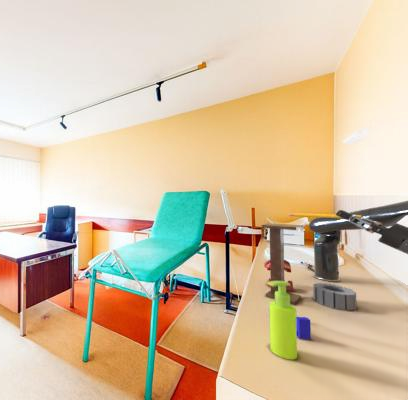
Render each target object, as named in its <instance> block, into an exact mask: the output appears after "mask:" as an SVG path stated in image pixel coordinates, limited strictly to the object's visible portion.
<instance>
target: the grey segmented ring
mask: <svg viewBox="0 0 408 400" xmlns="http://www.w3.org/2000/svg"><path fill="white" fill-rule="evenodd" d="M312 292H313V293H312V294H313V295H312V297H313V300H314V301H315V302H316V303H318V304H320V305H322V306H323V305H324V306H325V307H328V308H331V309H336V310H341V311H355V310H356V309H357V292H356V291H354V290H353V289H351V288H348V287H345V286H342V285H337V284H332V283H326V282H324V283H323V282H315V283H313V285H312Z"/></svg>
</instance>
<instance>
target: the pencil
mask: <svg viewBox="0 0 408 400" xmlns="http://www.w3.org/2000/svg"><path fill="white" fill-rule="evenodd" d="M288 216H289V217H303V218H318V217H323V218H342V217H339V216H337V215H336V213H309V212H305V213H304V212H289V213H288ZM352 216H353V215H352ZM356 216H357V217H360V218H361V215H356Z"/></svg>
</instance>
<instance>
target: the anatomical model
mask: <svg viewBox="0 0 408 400" xmlns="http://www.w3.org/2000/svg"><path fill="white" fill-rule="evenodd" d="M263 264H264V268H265V269H266V271H269V272H270V259H268V260H266V261H265V262H264V263H263ZM284 272H287V273H290V274H291V273H292V267H291V263H290V262H289V261H288V260H286V259H284ZM267 282H271V277H270V278H268V280H267V281H266V286H267V287H269V288H270V289H271V286H270V285H268V284H267ZM286 282H287V283H289V285H286V292H290V293H293V291H294V282H293V281H292V280H287V281H286Z"/></svg>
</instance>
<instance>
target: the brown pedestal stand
mask: <svg viewBox="0 0 408 400" xmlns="http://www.w3.org/2000/svg"><path fill="white" fill-rule="evenodd" d="M262 228H263V229H269V260H270V271H269V272H270V279H271V281H285V270H284V260H285V243H284V242H285V241H284V236H285V235H284V230H286V231H287V230H288V231H298V230H302V229H304V225H302V224H289V223H288V224H287V223H273V222H272V223H271V222H269V223H265V224H261V229H262ZM276 291H278V286H274V287H273V286H271V288H270V290H269V291H267V292H266V293H265V297H266V298H270V299H273V300H275V292H276ZM286 293H288V294H289V295H290V305H292V306H295V305H297V303H298V302H299V301H300V300H302V295H301V294H297V293H293V292H286Z"/></svg>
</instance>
